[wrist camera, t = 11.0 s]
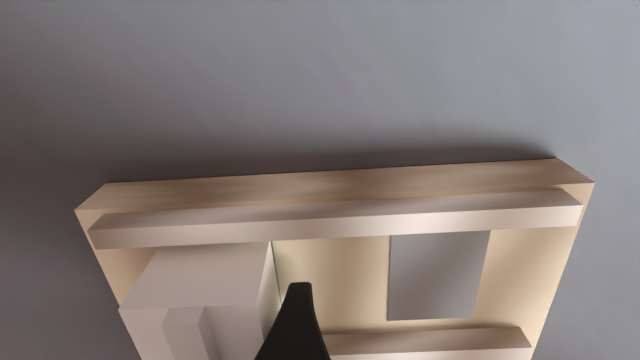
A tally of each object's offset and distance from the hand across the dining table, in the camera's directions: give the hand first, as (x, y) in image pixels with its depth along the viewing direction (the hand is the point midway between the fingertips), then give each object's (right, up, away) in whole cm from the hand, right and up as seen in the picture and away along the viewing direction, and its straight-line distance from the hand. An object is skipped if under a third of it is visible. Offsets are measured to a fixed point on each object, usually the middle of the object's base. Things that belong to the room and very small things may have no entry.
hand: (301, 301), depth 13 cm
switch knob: (-3, 0, +1) cm, 3 cm away
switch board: (+2, -5, +6) cm, 8 cm away
